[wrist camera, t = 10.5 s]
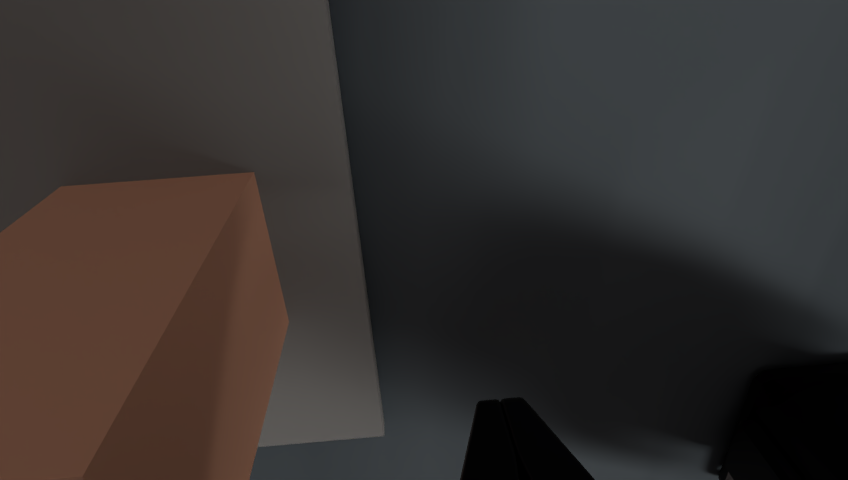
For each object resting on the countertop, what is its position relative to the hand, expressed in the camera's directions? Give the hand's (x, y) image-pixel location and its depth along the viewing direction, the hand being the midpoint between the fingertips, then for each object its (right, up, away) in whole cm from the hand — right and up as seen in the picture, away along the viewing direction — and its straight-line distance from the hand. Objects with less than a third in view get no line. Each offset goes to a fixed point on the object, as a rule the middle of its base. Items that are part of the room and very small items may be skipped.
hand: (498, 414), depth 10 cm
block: (-8, +3, +5) cm, 10 cm away
